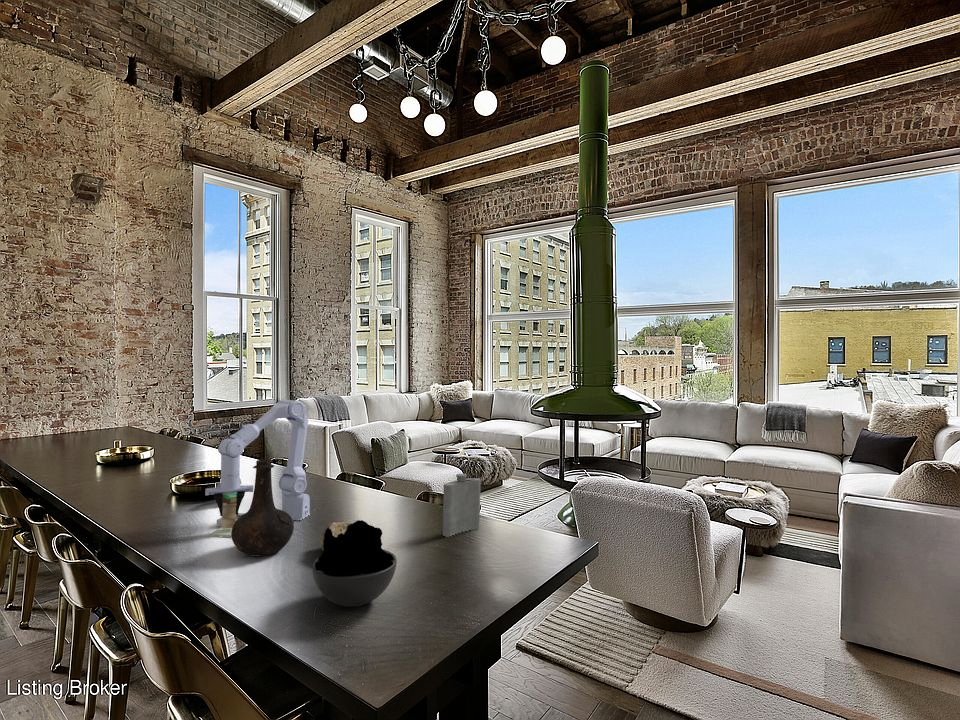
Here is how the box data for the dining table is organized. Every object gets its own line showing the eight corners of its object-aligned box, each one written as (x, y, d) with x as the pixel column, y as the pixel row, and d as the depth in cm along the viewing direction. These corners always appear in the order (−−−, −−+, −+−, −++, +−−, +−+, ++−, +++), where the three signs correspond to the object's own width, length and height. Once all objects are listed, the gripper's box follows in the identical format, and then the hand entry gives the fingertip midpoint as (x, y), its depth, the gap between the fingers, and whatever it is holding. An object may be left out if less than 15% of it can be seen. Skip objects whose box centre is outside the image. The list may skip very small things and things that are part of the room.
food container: (231, 508, 202) (232, 483, 202) (216, 508, 202) (216, 483, 202) (246, 500, 214) (247, 476, 214) (232, 500, 214) (232, 476, 214)
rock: (389, 560, 154) (384, 531, 152) (345, 585, 145) (340, 553, 142) (354, 536, 169) (350, 508, 167) (313, 556, 160) (308, 527, 157)
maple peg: (236, 524, 176) (236, 503, 176) (235, 527, 173) (235, 506, 173) (223, 525, 175) (223, 504, 175) (222, 528, 171) (222, 507, 171)
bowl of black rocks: (400, 584, 135) (401, 513, 135) (389, 623, 115) (391, 539, 115) (324, 584, 134) (325, 512, 135) (299, 623, 114) (301, 538, 115)
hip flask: (446, 537, 172) (447, 478, 172) (439, 534, 175) (440, 476, 175) (481, 528, 183) (482, 472, 183) (473, 525, 186) (474, 470, 186)
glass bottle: (271, 564, 147) (273, 467, 147) (216, 559, 151) (219, 463, 151) (304, 543, 164) (306, 456, 165) (255, 539, 168) (256, 453, 168)
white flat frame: (267, 521, 186) (267, 514, 186) (253, 529, 178) (254, 522, 178) (231, 519, 188) (232, 512, 188) (216, 527, 179) (216, 519, 179)
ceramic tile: (248, 530, 177) (248, 527, 177) (234, 537, 169) (234, 535, 169) (223, 528, 178) (223, 526, 178) (209, 536, 170) (209, 533, 170)
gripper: (253, 470, 180) (253, 509, 180) (207, 473, 174) (206, 513, 174) (253, 474, 173) (252, 515, 173) (205, 477, 168) (204, 519, 168)
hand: (229, 514), depth 173 cm, fingers closed on maple peg, 4 cm apart
